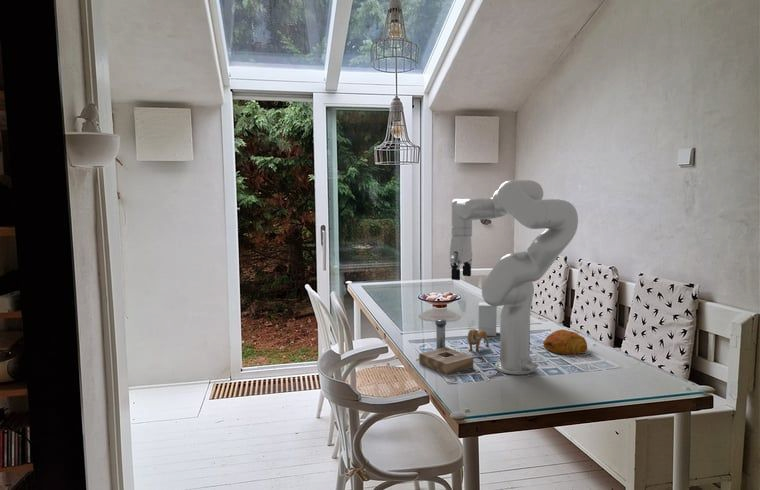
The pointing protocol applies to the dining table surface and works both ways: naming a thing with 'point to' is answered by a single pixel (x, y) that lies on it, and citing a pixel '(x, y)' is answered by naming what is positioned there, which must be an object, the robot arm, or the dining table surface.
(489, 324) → the supplement box
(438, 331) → the key peg
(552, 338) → the croissant
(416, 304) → the dining table surface
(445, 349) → the block
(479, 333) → the lion figurine
